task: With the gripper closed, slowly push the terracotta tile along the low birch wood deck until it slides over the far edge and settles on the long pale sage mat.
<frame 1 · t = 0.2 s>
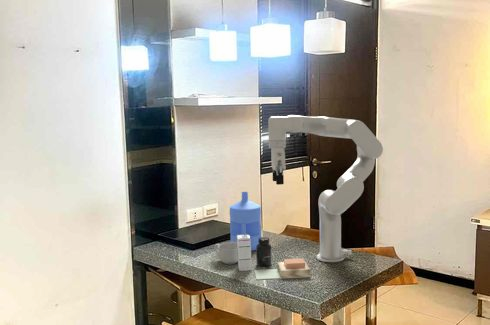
hand: (278, 182, 220), 36 cm above the breakfast bar, tool pointing down, fingers open, 9 cm apart
mat: (281, 273, 208), on the breakfast bar
teacup: (227, 261, 226), on the breakfast bar
tile: (294, 265, 208), point 3 cm above the breakfast bar, touching deck
syrup box: (244, 269, 216), on the breakfast bar
water jug: (246, 247, 248), on the breakfast bar
supplement bottle: (264, 265, 220), on the breakfast bar
deck: (293, 273, 208), resting on mat
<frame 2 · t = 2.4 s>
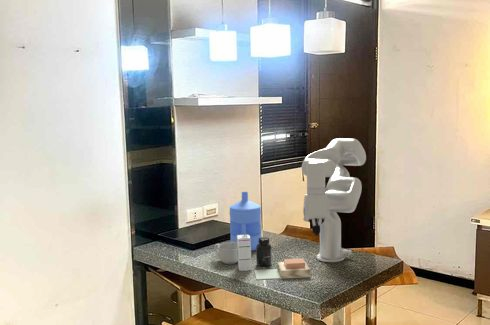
hand: (316, 234, 207), 16 cm above the breakfast bar, tool pointing down, fingers closed
nothing on the breakfast bar moved.
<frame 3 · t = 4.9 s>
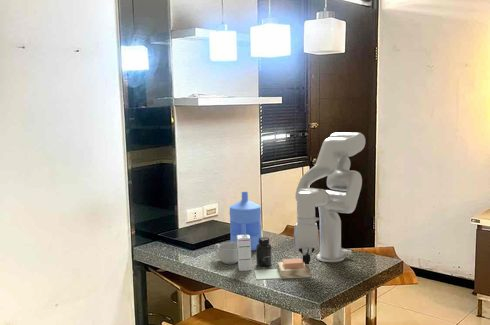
hand: (306, 263, 208), 4 cm above the breakfast bar, tool pointing down, fingers closed
nothing on the breakfast bar moved.
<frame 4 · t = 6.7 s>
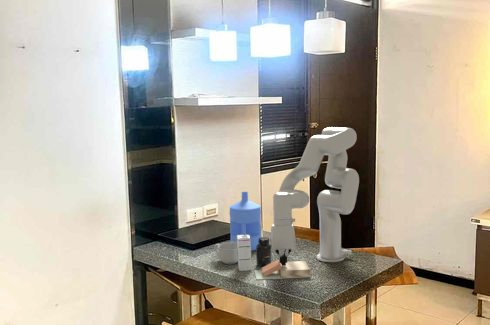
hand: (283, 264, 207), 4 cm above the breakfast bar, tool pointing down, fingers closed
tile: (272, 269, 207), point 2 cm above the breakfast bar, tilted 25°, touching gripper
everything else where it was.
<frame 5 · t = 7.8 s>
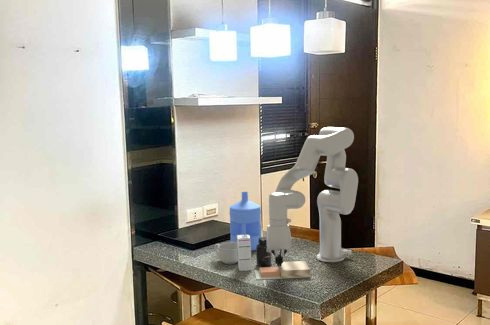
hand: (279, 265, 207), 4 cm above the breakfast bar, tool pointing down, fingers closed
tile: (269, 274, 207), resting on mat
everything else where it was.
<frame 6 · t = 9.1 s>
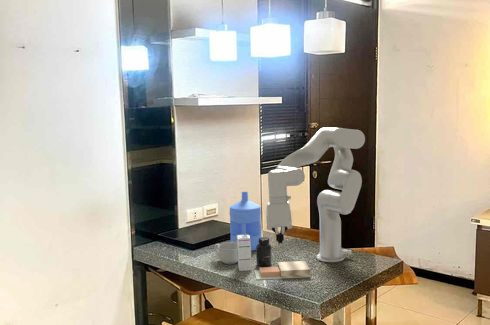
hand: (280, 242, 207), 13 cm above the breakfast bar, tool pointing down, fingers closed
nothing on the breakfast bar moved.
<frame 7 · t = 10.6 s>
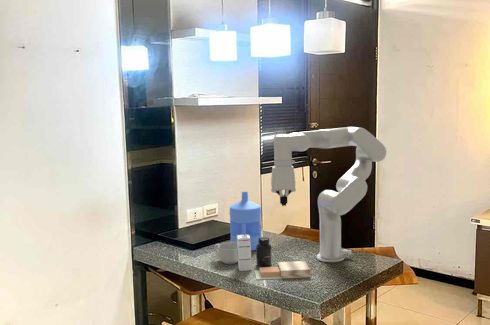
hand: (283, 205, 216), 27 cm above the breakfast bar, tool pointing down, fingers closed
nothing on the breakfast bar moved.
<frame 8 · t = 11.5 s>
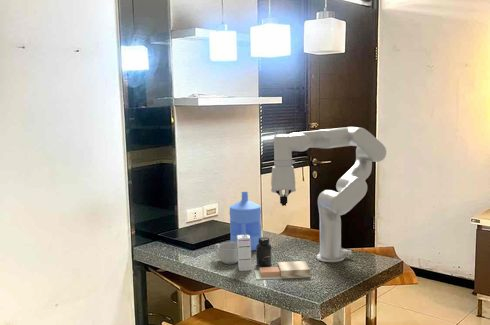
hand: (283, 205, 216), 27 cm above the breakfast bar, tool pointing down, fingers closed
nothing on the breakfast bar moved.
at the end: tile resting on mat; tile inside the target area on the mat (2.7 cm from its centre), point 0.3 cm above the mat's base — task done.
